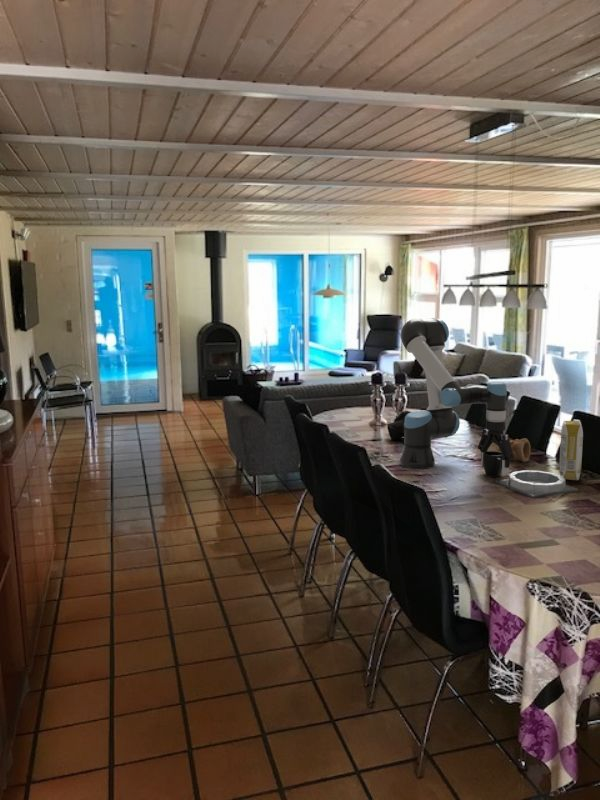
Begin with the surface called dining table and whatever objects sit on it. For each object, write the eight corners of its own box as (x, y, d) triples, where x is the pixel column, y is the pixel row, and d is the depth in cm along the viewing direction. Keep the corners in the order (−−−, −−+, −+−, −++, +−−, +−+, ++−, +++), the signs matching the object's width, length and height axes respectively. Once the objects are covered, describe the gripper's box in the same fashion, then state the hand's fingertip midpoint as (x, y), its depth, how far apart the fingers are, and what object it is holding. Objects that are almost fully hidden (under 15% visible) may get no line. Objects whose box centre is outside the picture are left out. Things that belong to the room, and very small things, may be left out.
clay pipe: (501, 471, 281) (535, 462, 276) (494, 448, 280) (528, 440, 275) (499, 459, 299) (532, 451, 294) (493, 438, 298) (525, 430, 293)
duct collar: (532, 497, 232) (533, 487, 231) (496, 482, 251) (496, 473, 250) (577, 491, 239) (578, 481, 238) (539, 476, 258) (539, 467, 258)
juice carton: (580, 481, 251) (584, 422, 247) (559, 479, 254) (562, 421, 250) (579, 475, 260) (582, 418, 256) (558, 473, 262) (561, 417, 258)
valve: (396, 429, 306) (382, 415, 335) (403, 456, 309) (389, 441, 338) (439, 416, 306) (421, 403, 336) (446, 444, 310) (428, 429, 339)
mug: (488, 481, 254) (488, 458, 252) (480, 472, 266) (480, 450, 264) (508, 480, 254) (509, 457, 252) (499, 472, 265) (500, 450, 264)
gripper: (524, 424, 245) (522, 477, 249) (484, 414, 269) (483, 463, 272) (508, 426, 243) (506, 479, 246) (469, 416, 266) (468, 465, 269)
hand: (494, 471), depth 259 cm, fingers open, 13 cm apart
